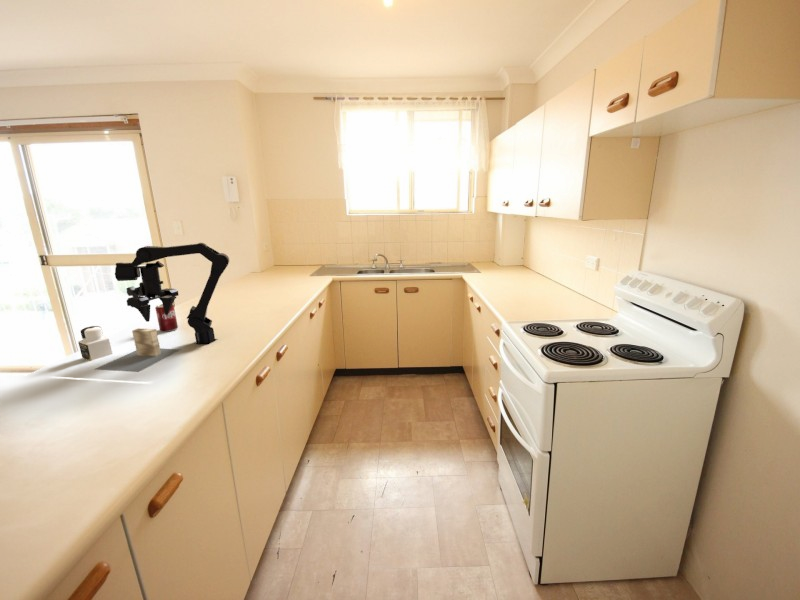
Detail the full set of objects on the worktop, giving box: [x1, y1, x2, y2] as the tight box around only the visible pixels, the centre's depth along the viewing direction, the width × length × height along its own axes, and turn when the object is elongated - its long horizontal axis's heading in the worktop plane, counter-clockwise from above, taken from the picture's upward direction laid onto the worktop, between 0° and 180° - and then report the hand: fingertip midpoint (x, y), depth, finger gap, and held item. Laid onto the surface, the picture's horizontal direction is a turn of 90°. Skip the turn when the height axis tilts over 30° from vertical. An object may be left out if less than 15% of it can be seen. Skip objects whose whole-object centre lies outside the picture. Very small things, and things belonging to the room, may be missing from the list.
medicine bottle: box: [78, 325, 113, 361], centre depth 135 cm, size 7×7×12 cm
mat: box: [94, 347, 182, 373], centre depth 132 cm, size 18×20×1 cm
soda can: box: [155, 303, 179, 333], centre depth 165 cm, size 7×7×12 cm
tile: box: [131, 328, 161, 356], centre depth 135 cm, size 8×2×10 cm, turn 81°
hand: (157, 318), depth 140 cm, fingers open, 9 cm apart
